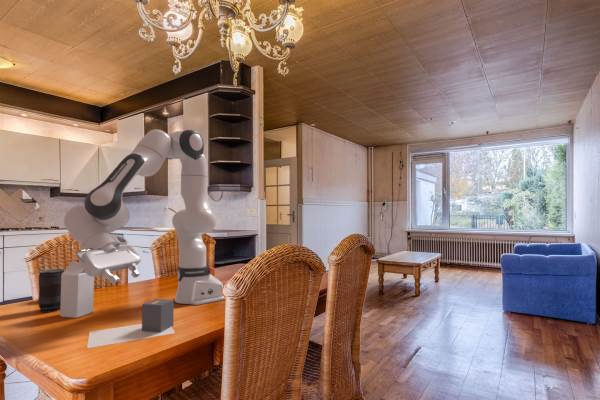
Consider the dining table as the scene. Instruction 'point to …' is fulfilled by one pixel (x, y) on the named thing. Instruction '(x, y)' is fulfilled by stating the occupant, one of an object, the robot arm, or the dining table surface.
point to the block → (157, 315)
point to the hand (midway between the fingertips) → (127, 278)
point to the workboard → (122, 335)
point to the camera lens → (50, 290)
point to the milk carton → (76, 292)
